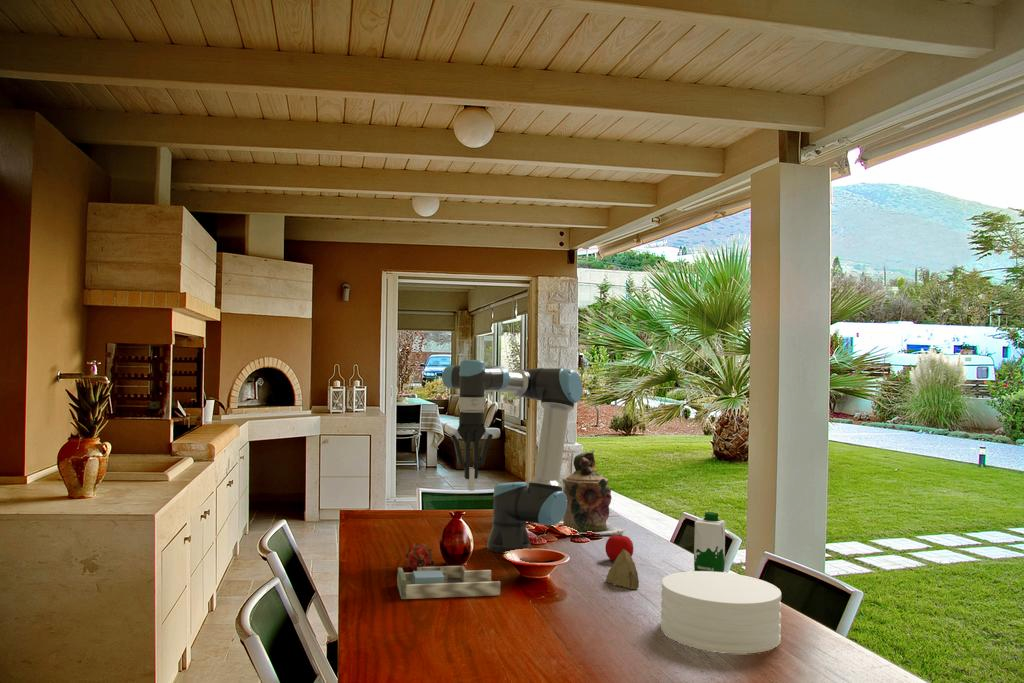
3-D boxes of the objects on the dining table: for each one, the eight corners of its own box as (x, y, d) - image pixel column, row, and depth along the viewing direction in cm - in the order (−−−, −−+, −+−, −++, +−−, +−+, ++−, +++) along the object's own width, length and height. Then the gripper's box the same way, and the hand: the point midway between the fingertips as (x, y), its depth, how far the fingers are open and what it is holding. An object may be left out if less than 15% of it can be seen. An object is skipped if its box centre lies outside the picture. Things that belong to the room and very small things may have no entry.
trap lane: (486, 576, 229) (486, 559, 229) (500, 595, 210) (500, 576, 210) (395, 579, 222) (396, 562, 222) (401, 599, 204) (402, 580, 204)
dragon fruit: (420, 569, 241) (422, 585, 229) (398, 554, 239) (399, 569, 228) (436, 548, 241) (439, 563, 230) (415, 533, 240) (417, 547, 228)
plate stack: (692, 608, 203) (693, 565, 204) (797, 633, 186) (798, 586, 186) (639, 634, 182) (640, 585, 182) (753, 665, 164) (753, 611, 165)
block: (440, 588, 216) (441, 570, 216) (443, 595, 209) (444, 577, 209) (412, 589, 214) (413, 571, 214) (414, 596, 207) (415, 577, 208)
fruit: (632, 558, 257) (632, 528, 257) (633, 565, 248) (634, 534, 248) (604, 557, 258) (605, 527, 258) (605, 563, 249) (606, 533, 249)
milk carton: (726, 578, 234) (727, 513, 235) (720, 585, 226) (721, 518, 227) (698, 574, 238) (699, 510, 239) (690, 581, 230) (691, 514, 231)
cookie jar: (545, 525, 310) (547, 446, 311) (600, 523, 317) (602, 446, 319) (568, 538, 286) (570, 453, 288) (627, 536, 294) (629, 453, 295)
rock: (649, 582, 219) (640, 568, 229) (633, 559, 218) (625, 546, 228) (618, 604, 219) (611, 589, 229) (602, 581, 218) (595, 567, 227)
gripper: (452, 412, 223) (451, 492, 222) (495, 411, 226) (495, 491, 225) (448, 410, 230) (447, 488, 229) (489, 409, 233) (489, 486, 233)
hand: (470, 489), depth 227 cm, fingers closed
